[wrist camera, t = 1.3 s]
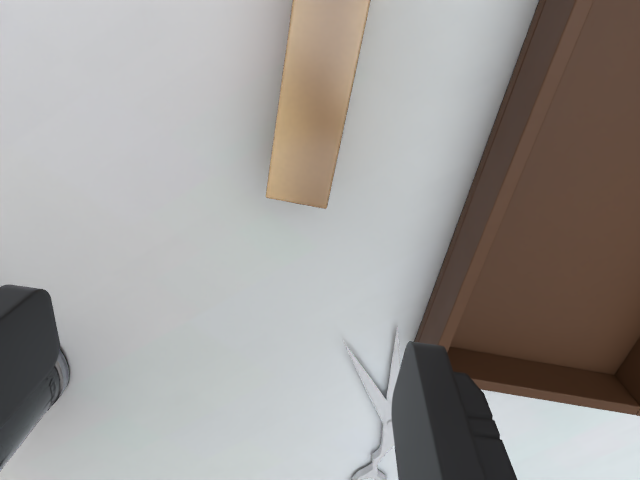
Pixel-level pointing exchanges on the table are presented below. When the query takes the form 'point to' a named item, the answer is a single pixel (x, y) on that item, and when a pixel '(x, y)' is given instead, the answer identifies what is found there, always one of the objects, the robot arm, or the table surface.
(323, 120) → the tan and orange bar
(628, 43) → the tray
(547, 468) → the table surface
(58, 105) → the table surface
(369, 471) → the scissors
